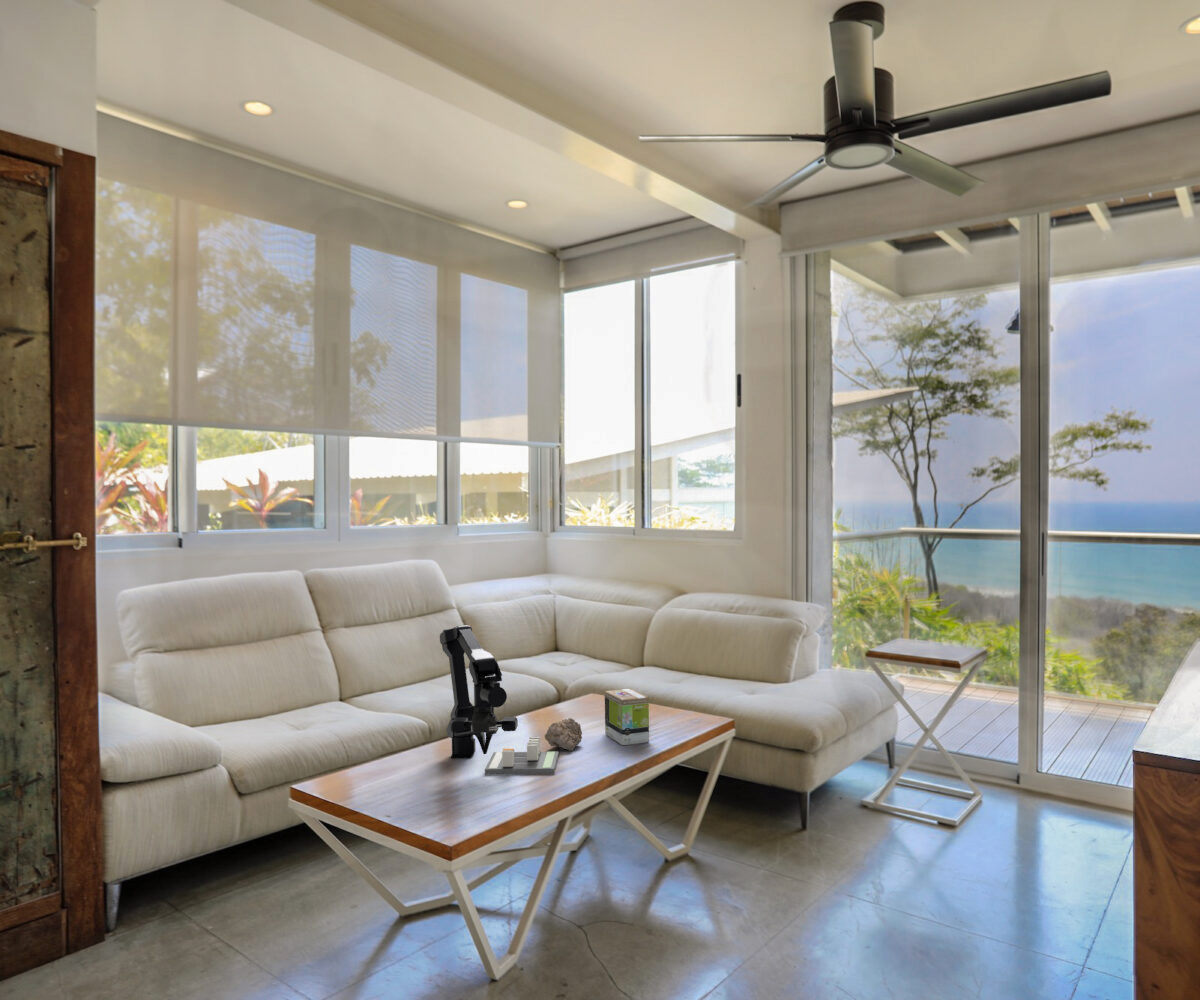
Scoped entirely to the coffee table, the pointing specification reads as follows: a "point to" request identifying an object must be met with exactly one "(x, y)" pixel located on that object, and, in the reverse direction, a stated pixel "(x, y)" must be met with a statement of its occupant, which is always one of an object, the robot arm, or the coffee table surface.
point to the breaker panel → (523, 764)
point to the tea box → (627, 716)
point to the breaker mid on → (532, 751)
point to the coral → (564, 734)
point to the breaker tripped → (508, 757)
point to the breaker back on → (535, 739)
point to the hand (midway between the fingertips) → (485, 753)
